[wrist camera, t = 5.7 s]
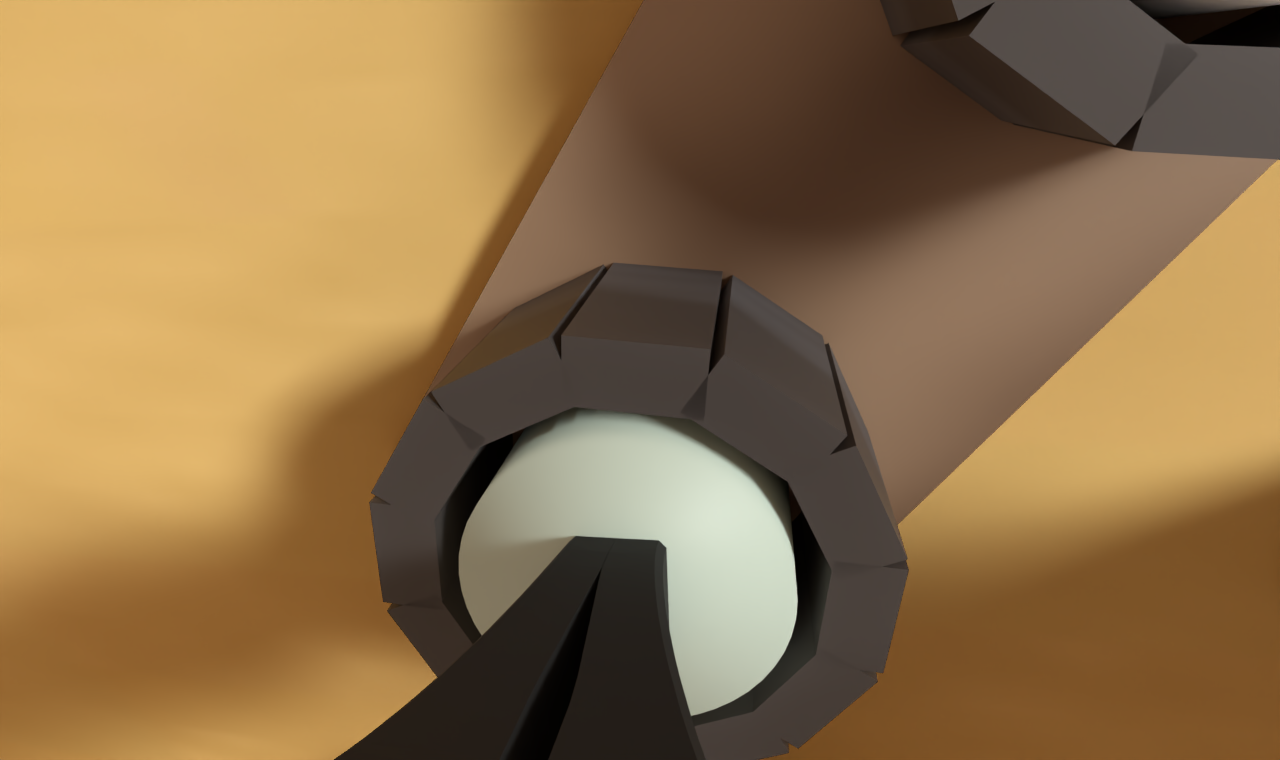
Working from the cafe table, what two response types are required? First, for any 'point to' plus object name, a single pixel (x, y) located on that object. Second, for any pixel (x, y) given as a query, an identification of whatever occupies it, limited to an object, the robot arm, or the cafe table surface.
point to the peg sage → (648, 535)
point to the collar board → (831, 275)
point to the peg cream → (1195, 6)
